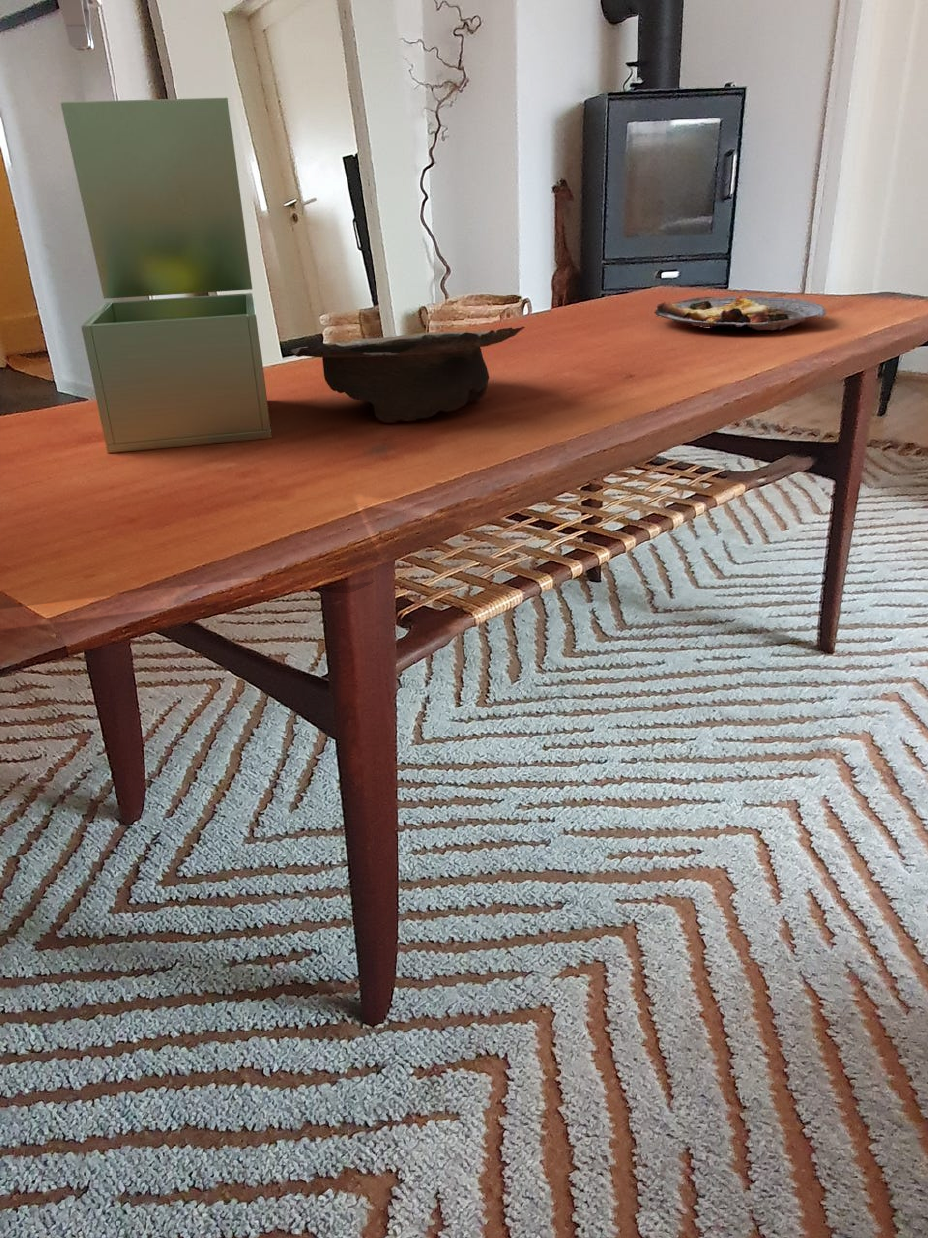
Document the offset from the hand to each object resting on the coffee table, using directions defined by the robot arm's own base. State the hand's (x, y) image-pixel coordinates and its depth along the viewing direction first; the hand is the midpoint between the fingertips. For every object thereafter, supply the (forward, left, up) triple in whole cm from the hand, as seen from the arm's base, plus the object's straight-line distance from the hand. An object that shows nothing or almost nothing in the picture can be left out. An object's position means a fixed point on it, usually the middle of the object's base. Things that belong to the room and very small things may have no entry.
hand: (82, 49), depth 91 cm
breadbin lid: (+6, -3, -14) cm, 15 cm away
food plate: (+85, +25, -35) cm, 96 cm away
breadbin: (+5, -10, -35) cm, 37 cm away
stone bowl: (+28, -9, -35) cm, 46 cm away
